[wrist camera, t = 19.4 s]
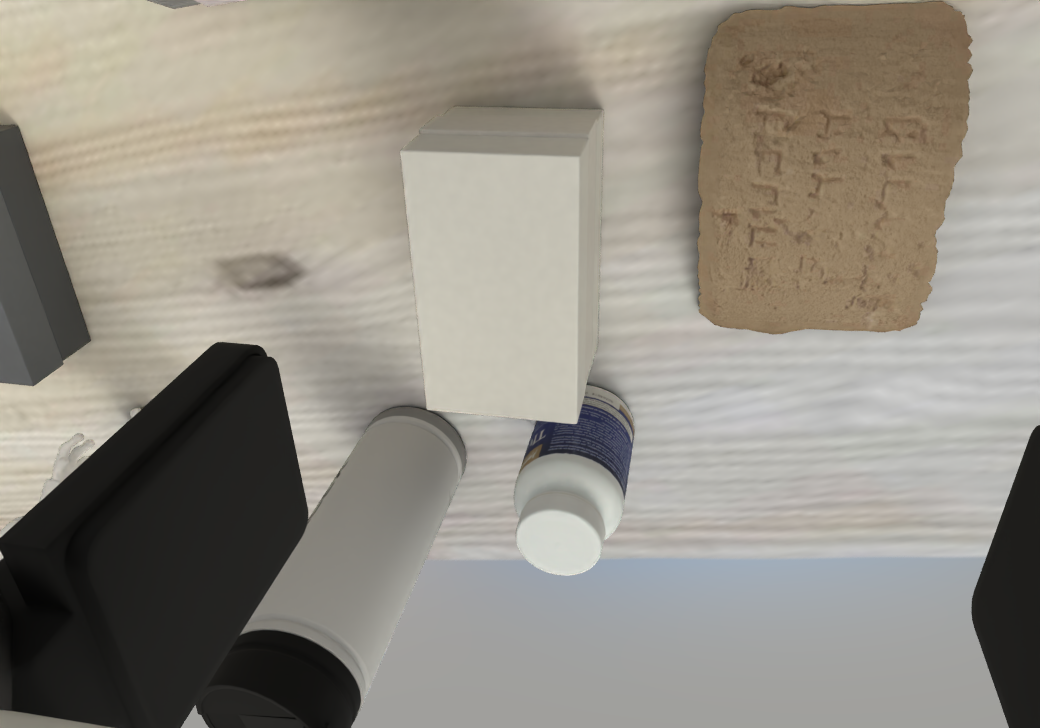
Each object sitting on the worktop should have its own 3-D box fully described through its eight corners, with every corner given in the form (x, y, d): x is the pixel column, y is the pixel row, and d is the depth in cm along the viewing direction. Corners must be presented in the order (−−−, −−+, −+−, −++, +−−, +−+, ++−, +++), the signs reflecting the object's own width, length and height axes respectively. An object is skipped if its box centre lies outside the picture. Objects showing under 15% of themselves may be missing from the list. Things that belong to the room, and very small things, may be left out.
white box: (419, 133, 33) (398, 150, 31) (589, 138, 32) (580, 155, 29) (441, 382, 39) (425, 410, 37) (585, 395, 38) (577, 425, 36)
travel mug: (485, 485, 48) (361, 805, 31) (387, 493, 50) (221, 798, 33) (455, 398, 45) (301, 698, 29) (352, 410, 47) (152, 697, 31)
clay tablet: (912, 330, 38) (925, 359, 36) (693, 324, 40) (692, 350, 38) (975, -4, 31) (995, 4, 28) (704, 11, 33) (703, 20, 31)
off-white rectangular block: (452, 101, 37) (418, 129, 33) (604, 104, 36) (589, 133, 31) (468, 334, 43) (441, 382, 39) (597, 344, 42) (584, 395, 38)
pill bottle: (542, 374, 43) (501, 487, 35) (641, 389, 43) (623, 509, 34) (536, 453, 46) (497, 575, 38) (629, 469, 45) (610, 597, 37)
